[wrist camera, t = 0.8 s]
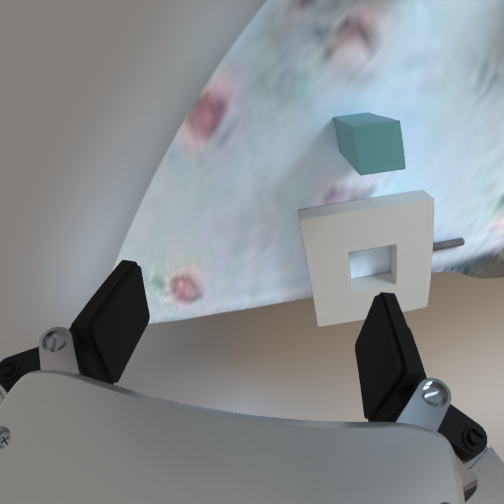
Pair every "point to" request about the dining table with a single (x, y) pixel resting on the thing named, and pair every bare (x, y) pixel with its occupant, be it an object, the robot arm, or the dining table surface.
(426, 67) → the dining table surface
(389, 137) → the plug
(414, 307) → the white square-hole board
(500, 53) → the dining table surface
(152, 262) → the dining table surface
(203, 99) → the dining table surface
